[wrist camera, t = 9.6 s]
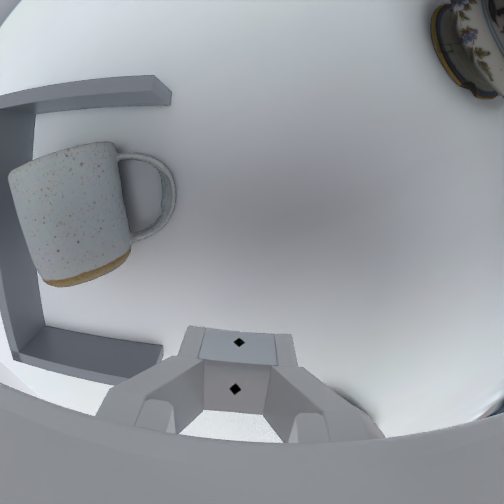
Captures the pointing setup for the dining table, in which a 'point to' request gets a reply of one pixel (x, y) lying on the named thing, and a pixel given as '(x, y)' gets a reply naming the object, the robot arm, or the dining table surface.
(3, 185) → the box
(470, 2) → the apothecary jar
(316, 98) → the dining table surface
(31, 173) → the ceramic mug
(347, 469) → the robot arm
